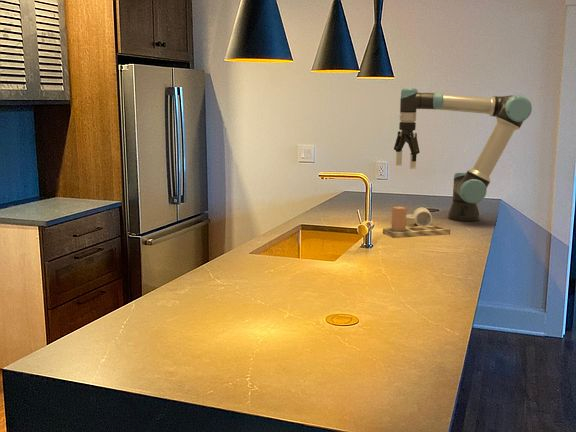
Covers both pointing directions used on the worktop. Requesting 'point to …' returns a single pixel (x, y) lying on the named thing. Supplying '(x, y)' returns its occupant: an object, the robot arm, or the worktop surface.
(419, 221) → the mug
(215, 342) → the worktop surface
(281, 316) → the worktop surface
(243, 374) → the worktop surface
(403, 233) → the compartment tray
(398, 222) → the peg block
